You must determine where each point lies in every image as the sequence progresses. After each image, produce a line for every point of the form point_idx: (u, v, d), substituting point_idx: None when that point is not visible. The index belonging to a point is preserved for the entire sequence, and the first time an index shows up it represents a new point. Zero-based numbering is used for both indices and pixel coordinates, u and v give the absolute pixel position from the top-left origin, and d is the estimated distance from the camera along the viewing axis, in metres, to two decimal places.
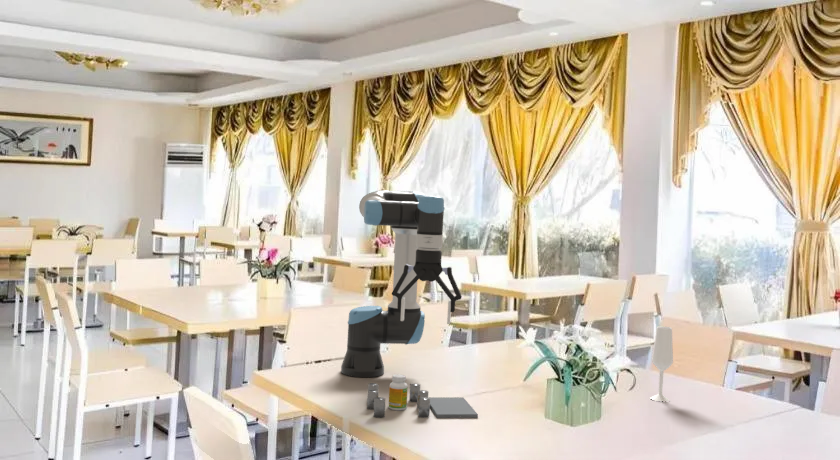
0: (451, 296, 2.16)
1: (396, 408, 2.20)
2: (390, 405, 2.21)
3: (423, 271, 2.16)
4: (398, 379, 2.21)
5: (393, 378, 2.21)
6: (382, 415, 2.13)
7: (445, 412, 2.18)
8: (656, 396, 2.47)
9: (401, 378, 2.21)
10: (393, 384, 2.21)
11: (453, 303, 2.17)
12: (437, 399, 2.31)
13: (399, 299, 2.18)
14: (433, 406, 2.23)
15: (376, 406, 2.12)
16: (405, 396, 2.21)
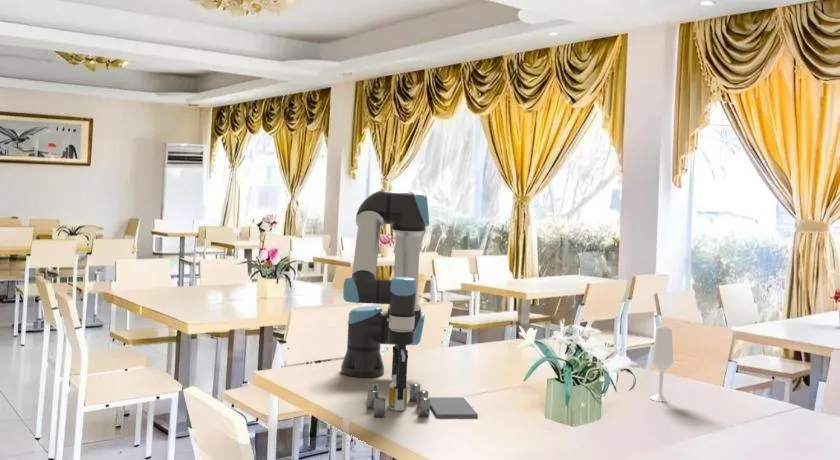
0: (396, 383, 2.18)
1: None
2: (390, 405, 2.21)
3: (393, 349, 2.23)
4: None
5: (393, 378, 2.21)
6: (382, 415, 2.13)
7: (445, 412, 2.18)
8: (656, 396, 2.47)
9: None
10: (393, 384, 2.21)
11: (398, 391, 2.18)
12: (437, 399, 2.31)
13: None
14: (433, 406, 2.23)
15: (376, 406, 2.12)
16: (405, 396, 2.21)
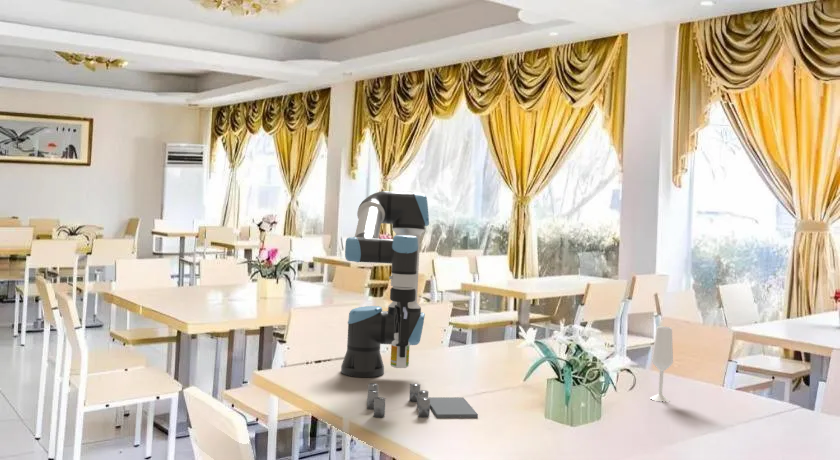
0: (398, 340, 2.18)
1: None
2: (392, 363, 2.21)
3: (395, 308, 2.22)
4: None
5: (395, 336, 2.21)
6: (382, 415, 2.13)
7: (445, 412, 2.18)
8: (656, 396, 2.47)
9: None
10: (395, 342, 2.21)
11: (400, 348, 2.18)
12: (437, 399, 2.31)
13: None
14: (433, 406, 2.23)
15: (376, 406, 2.12)
16: (407, 354, 2.21)
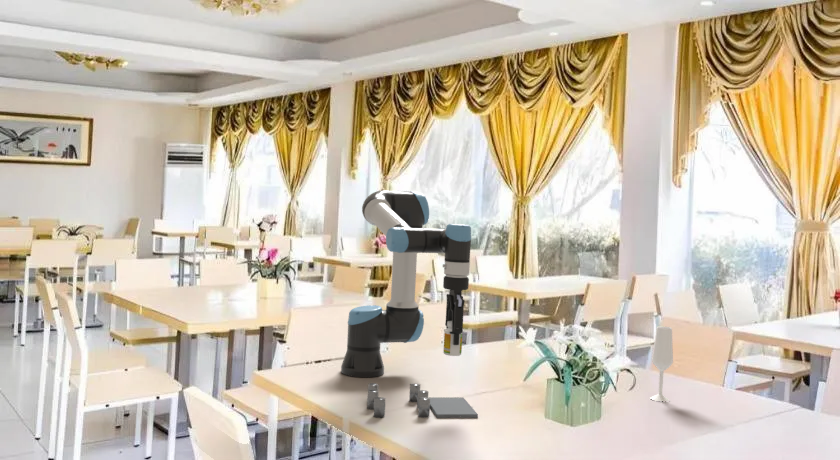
0: (452, 328, 2.19)
1: None
2: (445, 351, 2.22)
3: (448, 296, 2.24)
4: None
5: (448, 324, 2.22)
6: (382, 415, 2.13)
7: (445, 412, 2.18)
8: (656, 396, 2.47)
9: None
10: (448, 330, 2.22)
11: (454, 336, 2.19)
12: (437, 399, 2.31)
13: None
14: (433, 406, 2.23)
15: (376, 406, 2.12)
16: (460, 342, 2.22)
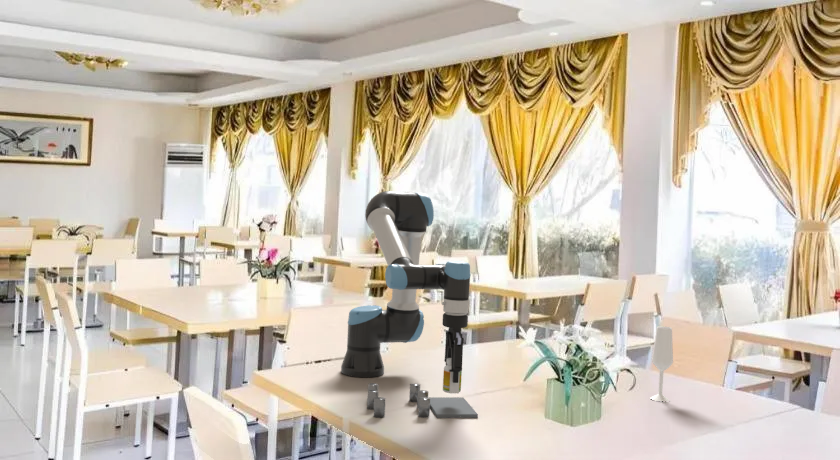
0: (452, 366, 2.20)
1: None
2: (445, 388, 2.23)
3: (447, 333, 2.25)
4: None
5: (448, 361, 2.23)
6: (382, 415, 2.13)
7: (445, 412, 2.18)
8: (656, 396, 2.47)
9: None
10: (448, 367, 2.22)
11: (453, 374, 2.20)
12: (437, 399, 2.31)
13: None
14: (433, 406, 2.23)
15: (376, 406, 2.12)
16: (460, 379, 2.23)
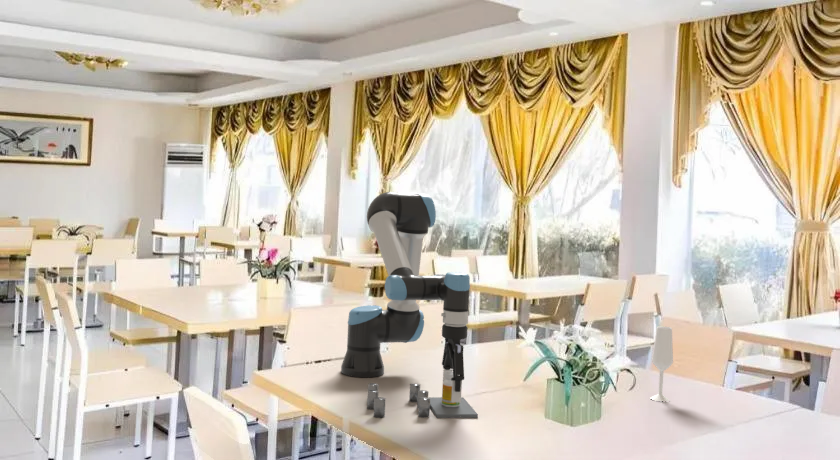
0: (453, 375, 2.17)
1: (450, 405, 2.22)
2: (444, 402, 2.23)
3: (446, 344, 2.25)
4: (452, 376, 2.23)
5: (447, 375, 2.23)
6: (382, 415, 2.13)
7: (445, 412, 2.18)
8: (656, 396, 2.47)
9: None
10: (447, 381, 2.23)
11: (455, 382, 2.17)
12: (437, 399, 2.31)
13: None
14: (433, 406, 2.23)
15: (376, 406, 2.12)
16: None
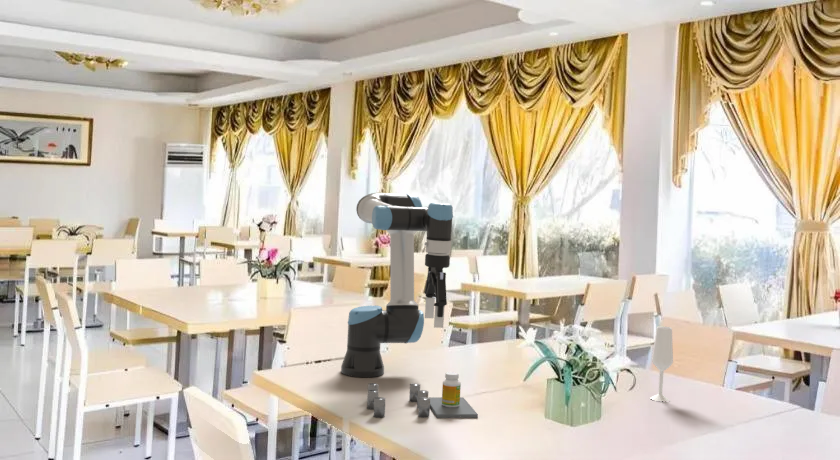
0: (436, 300, 2.22)
1: (450, 405, 2.22)
2: (444, 402, 2.23)
3: (429, 273, 2.29)
4: (452, 376, 2.23)
5: (446, 375, 2.23)
6: (382, 415, 2.13)
7: (445, 412, 2.18)
8: (656, 396, 2.47)
9: (454, 375, 2.23)
10: (447, 381, 2.23)
11: (438, 308, 2.21)
12: (437, 399, 2.31)
13: None
14: (433, 406, 2.23)
15: (376, 406, 2.12)
16: (458, 393, 2.23)
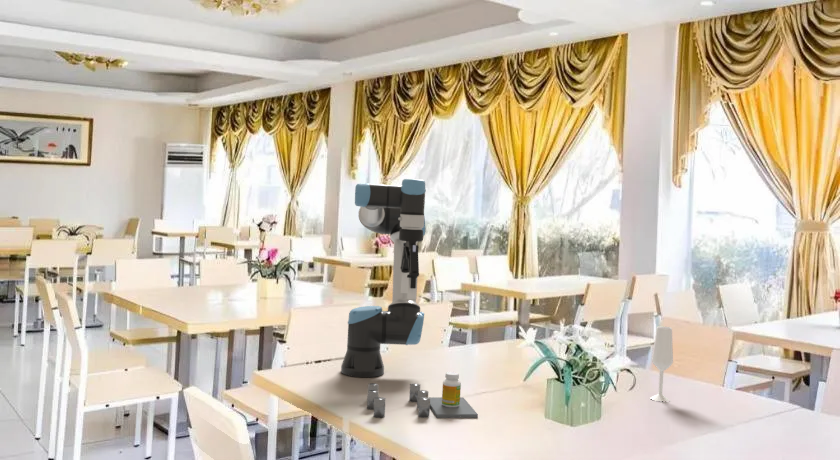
0: (409, 272, 2.28)
1: (450, 405, 2.22)
2: (444, 402, 2.23)
3: (403, 248, 2.36)
4: (452, 376, 2.23)
5: (447, 375, 2.23)
6: (382, 415, 2.13)
7: (445, 412, 2.18)
8: (656, 396, 2.47)
9: (455, 376, 2.23)
10: (447, 381, 2.23)
11: (411, 279, 2.28)
12: (437, 399, 2.31)
13: (403, 273, 2.43)
14: (433, 406, 2.23)
15: (376, 406, 2.12)
16: (458, 393, 2.23)
